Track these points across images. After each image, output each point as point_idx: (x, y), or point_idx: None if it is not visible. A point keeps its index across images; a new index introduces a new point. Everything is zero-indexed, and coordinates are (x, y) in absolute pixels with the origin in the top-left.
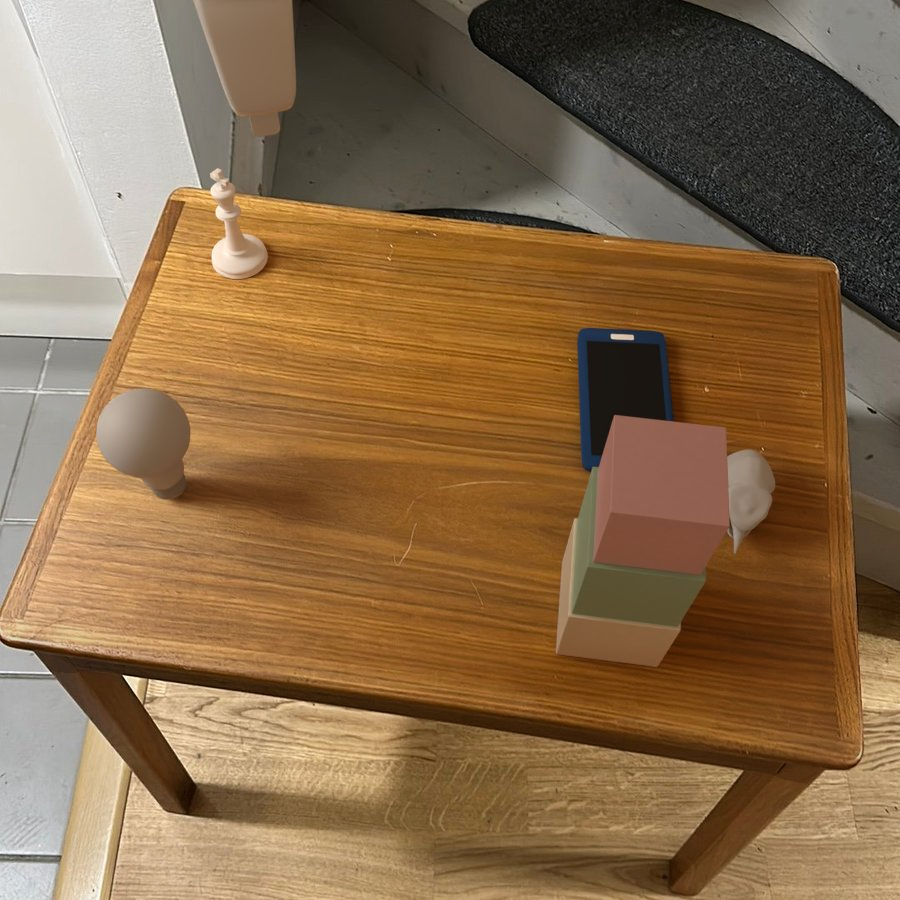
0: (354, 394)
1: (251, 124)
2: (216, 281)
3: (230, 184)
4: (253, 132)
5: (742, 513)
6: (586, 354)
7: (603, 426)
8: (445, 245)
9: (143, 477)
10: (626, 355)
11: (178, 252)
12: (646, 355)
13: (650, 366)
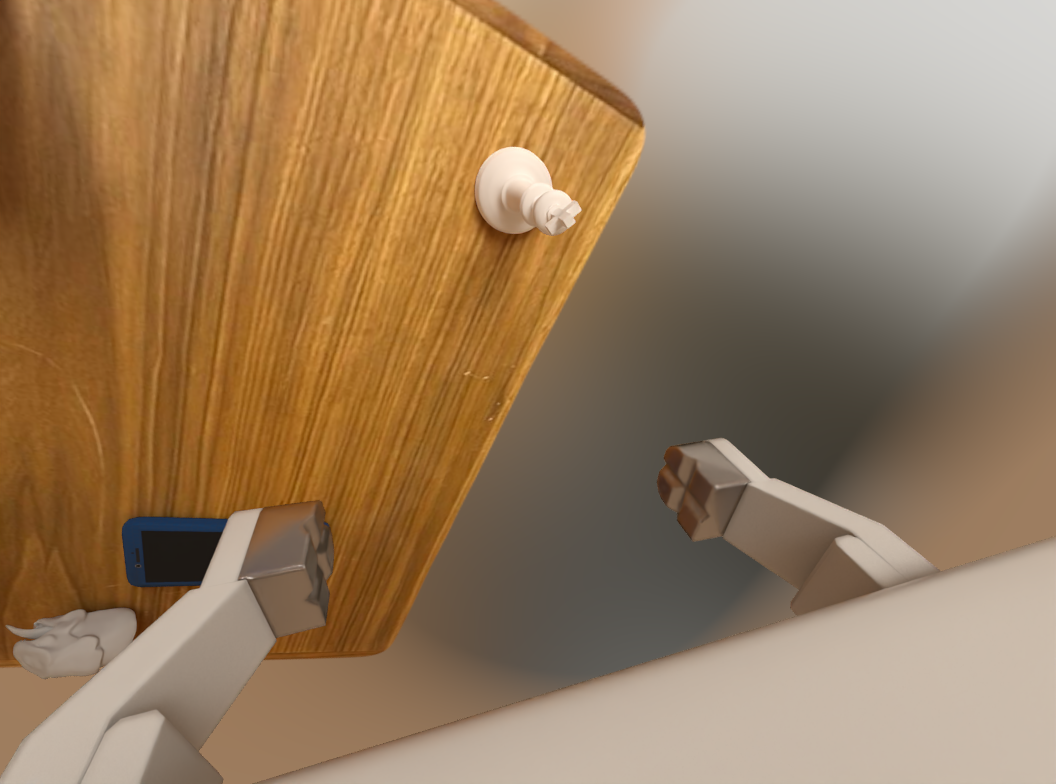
0: (241, 307)
1: (218, 547)
2: (479, 146)
3: (559, 229)
4: (228, 521)
5: (23, 656)
6: None
7: (186, 540)
8: (473, 427)
9: None
10: None
11: (551, 93)
12: None
13: None
